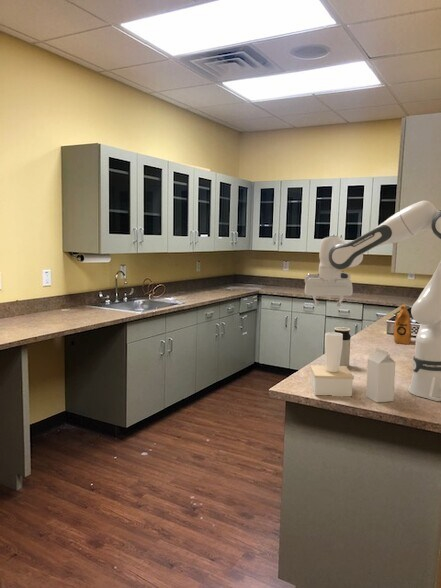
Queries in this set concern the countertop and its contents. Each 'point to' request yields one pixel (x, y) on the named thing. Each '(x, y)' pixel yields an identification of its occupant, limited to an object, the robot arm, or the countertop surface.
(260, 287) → the countertop surface
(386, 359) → the milk carton
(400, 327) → the coffee package
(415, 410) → the countertop surface
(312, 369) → the painted box
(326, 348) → the white ceramic cup
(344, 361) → the travel mug
